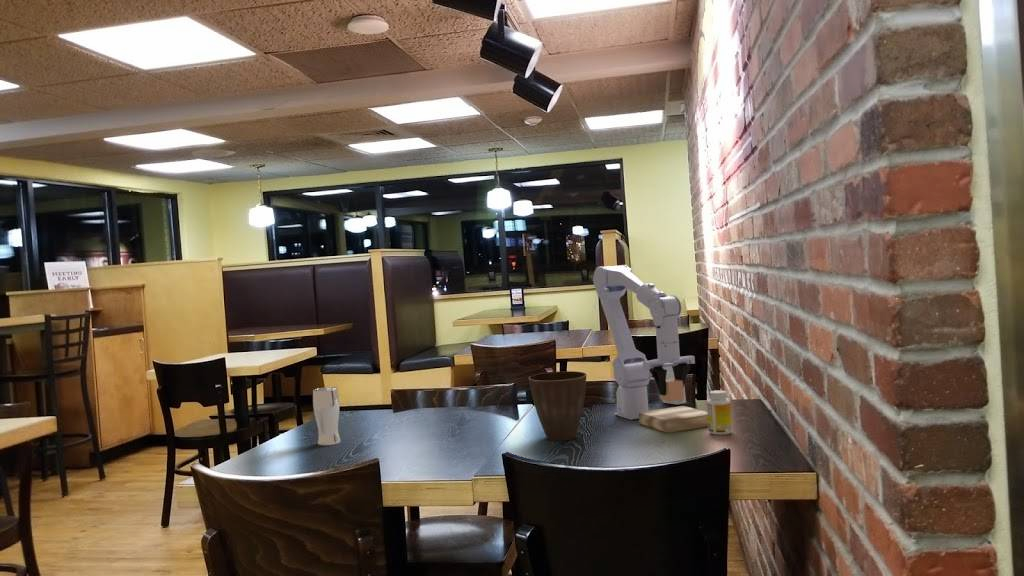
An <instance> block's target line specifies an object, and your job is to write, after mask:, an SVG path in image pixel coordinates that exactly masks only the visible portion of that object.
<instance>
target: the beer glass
mask: <svg viewBox="0 0 1024 576" xmlns="http://www.w3.org/2000/svg"><path fill="white" fill-rule="evenodd" d="M312 407H313V414H314V416H315V417H314V418H315V422H316V424H317V425H316V426H317V431H318V437H317V438H318V440H317V444H318V446H322V447H323V446H334V445H337V444H340V443H341V437H340V433H339V419H340V397H339V390H338V387H337V386H327V387H325V386H324V387H318V388H314V389H313V390H312Z"/></svg>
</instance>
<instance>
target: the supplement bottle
mask: <svg viewBox="0 0 1024 576" xmlns="http://www.w3.org/2000/svg"><path fill="white" fill-rule="evenodd" d="M706 409H707V411H706V412H708V425H709V426H708V432H709V433H710V434H712V435H716V436H723V435H724V436H725V435H726V436H727V435H729V434H731V433H732V432H733V419H732V409H731V400H730V399H729V398H727V391H726V390H716V389H715V390H711V391H709V399H708V400H706Z"/></svg>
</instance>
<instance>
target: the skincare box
mask: <svg viewBox="0 0 1024 576" xmlns="http://www.w3.org/2000/svg"><path fill="white" fill-rule="evenodd" d="M668 364H673V363H668ZM664 365H665V364H664ZM662 368H664V370H667V374H666V379H675V377H674V372H673V368H672V366H667V367H662ZM685 389H686V387H685V386H684V388H683V393H684V400H677V401H670V402H668V401H665V400H662V401H663V403H664V404H671V405H678V406H679V405H683V404H686V403H687V398H686V390H685Z"/></svg>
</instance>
